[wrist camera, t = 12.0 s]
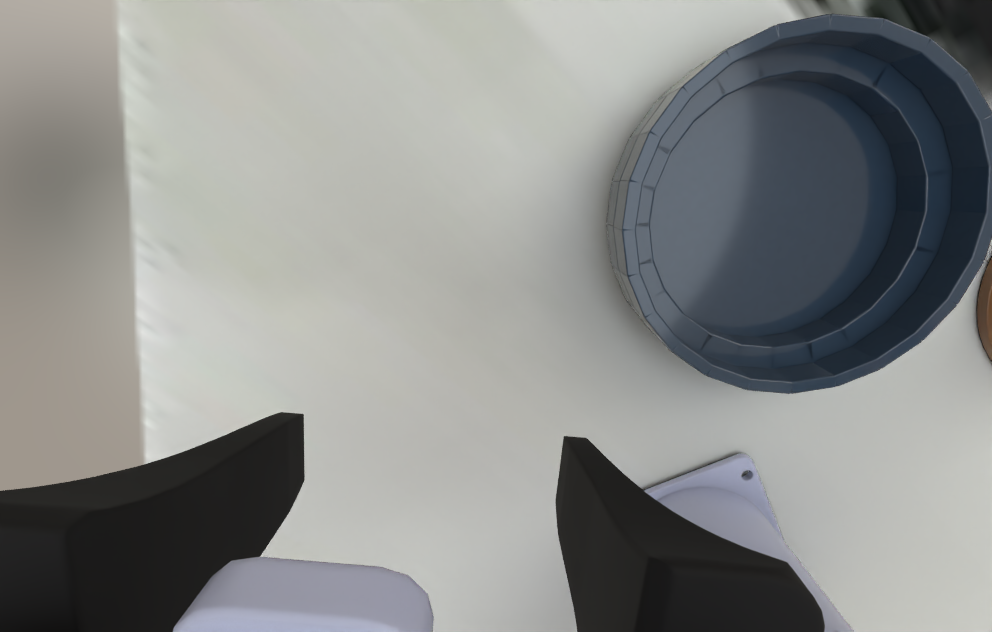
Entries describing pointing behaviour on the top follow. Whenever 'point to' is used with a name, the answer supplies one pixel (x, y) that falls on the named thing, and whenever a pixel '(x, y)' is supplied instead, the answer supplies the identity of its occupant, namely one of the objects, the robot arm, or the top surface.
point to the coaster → (985, 310)
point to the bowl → (805, 203)
